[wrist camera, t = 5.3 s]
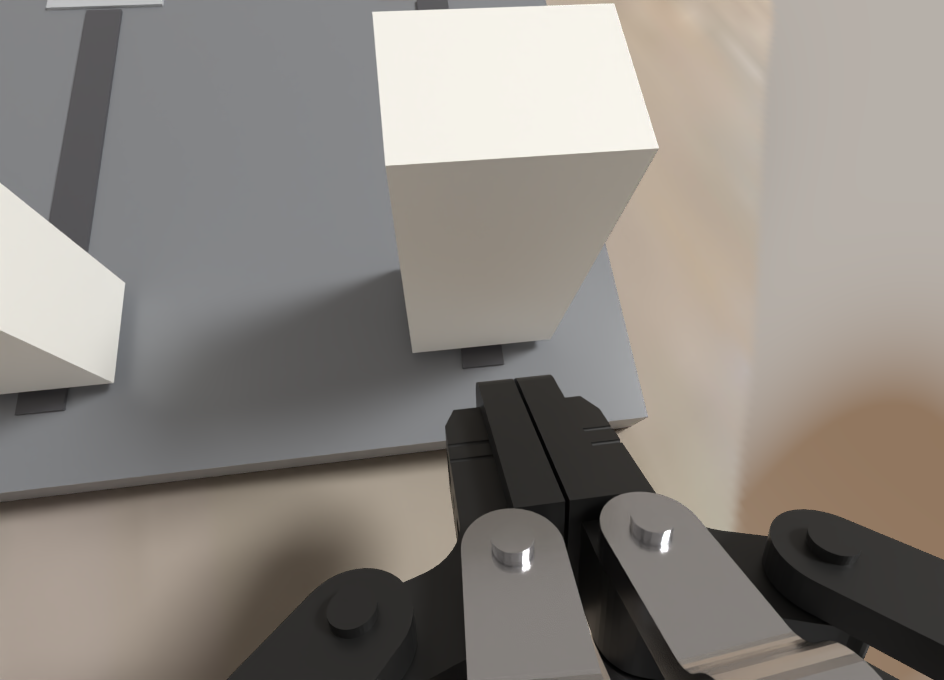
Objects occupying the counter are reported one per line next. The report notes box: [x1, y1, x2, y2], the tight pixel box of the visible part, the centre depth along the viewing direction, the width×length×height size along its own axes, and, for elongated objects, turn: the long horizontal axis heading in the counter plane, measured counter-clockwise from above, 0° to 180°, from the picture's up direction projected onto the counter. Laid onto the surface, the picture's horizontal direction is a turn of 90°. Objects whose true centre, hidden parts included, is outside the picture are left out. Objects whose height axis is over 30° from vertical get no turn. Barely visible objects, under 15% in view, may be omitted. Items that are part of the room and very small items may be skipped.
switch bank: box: [0, 0, 648, 502], centre depth 18 cm, size 21×20×2 cm
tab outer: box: [372, 3, 659, 353], centre depth 12 cm, size 4×3×8 cm
